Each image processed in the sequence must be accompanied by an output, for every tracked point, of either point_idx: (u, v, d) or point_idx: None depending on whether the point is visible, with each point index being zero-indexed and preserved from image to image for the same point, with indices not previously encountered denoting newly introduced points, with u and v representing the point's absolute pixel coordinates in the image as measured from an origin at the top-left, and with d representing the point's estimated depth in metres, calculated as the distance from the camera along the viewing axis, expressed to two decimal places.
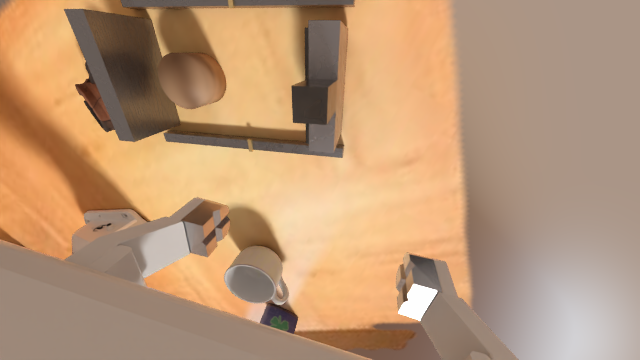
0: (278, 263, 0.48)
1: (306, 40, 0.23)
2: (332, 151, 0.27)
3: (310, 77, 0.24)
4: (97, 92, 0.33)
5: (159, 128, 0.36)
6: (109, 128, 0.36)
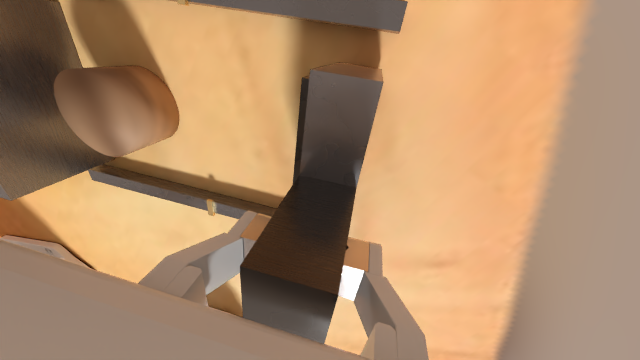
0: None
1: (303, 102, 0.11)
2: None
3: (303, 173, 0.12)
4: None
5: (70, 171, 0.23)
6: None
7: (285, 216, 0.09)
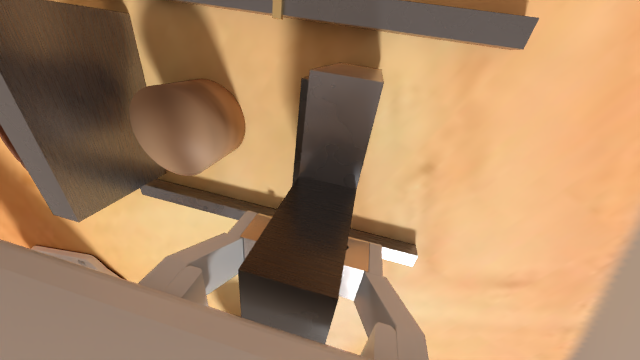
0: None
1: (302, 102, 0.11)
2: None
3: (302, 174, 0.12)
4: None
5: (129, 188, 0.22)
6: None
7: (284, 218, 0.09)
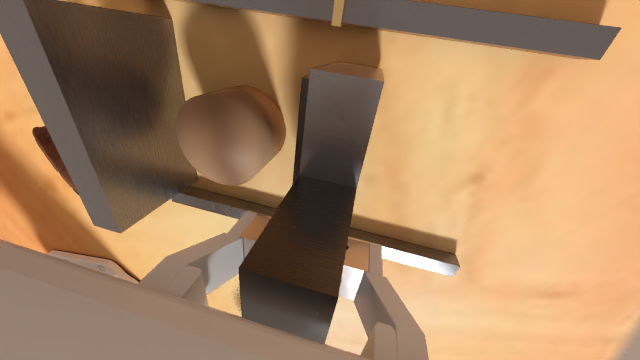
0: None
1: (302, 101, 0.11)
2: None
3: (303, 173, 0.12)
4: None
5: (165, 197, 0.22)
6: None
7: (285, 217, 0.09)
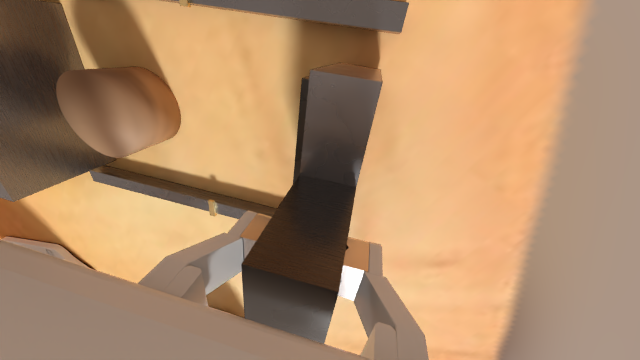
0: None
1: (302, 102, 0.11)
2: None
3: (303, 172, 0.12)
4: None
5: (72, 172, 0.23)
6: None
7: (286, 215, 0.09)
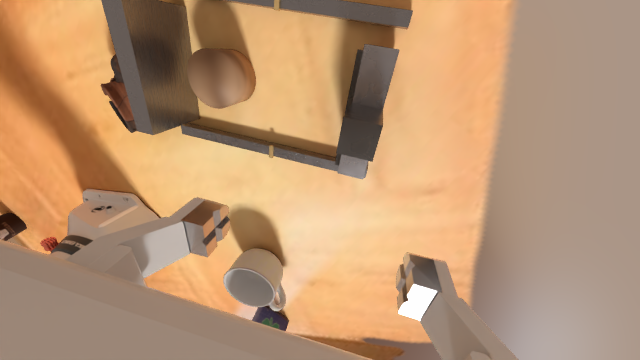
0: (279, 269, 0.47)
1: (356, 62, 0.22)
2: (362, 177, 0.26)
3: (354, 101, 0.22)
4: (122, 91, 0.32)
5: (179, 122, 0.34)
6: (134, 128, 0.35)
7: (353, 110, 0.19)
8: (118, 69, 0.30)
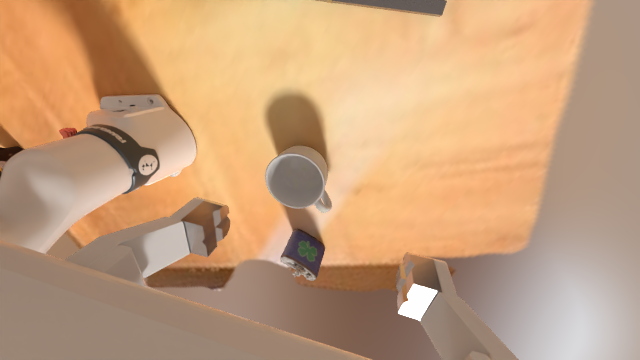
0: (326, 166, 0.42)
1: None
2: None
3: None
4: None
5: None
6: None
7: None
8: None
